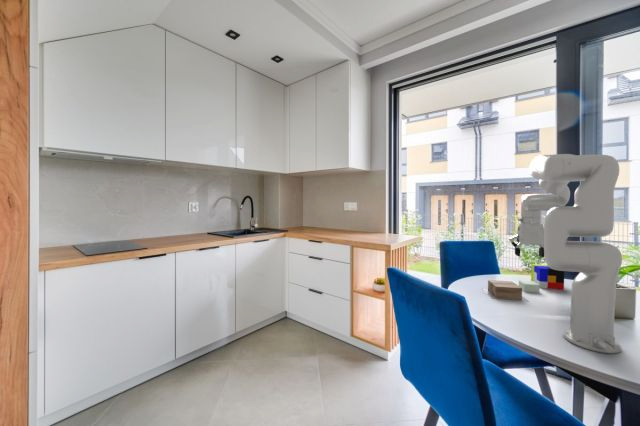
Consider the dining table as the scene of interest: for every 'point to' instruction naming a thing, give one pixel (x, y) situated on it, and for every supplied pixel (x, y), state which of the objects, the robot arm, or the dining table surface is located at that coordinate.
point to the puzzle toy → (547, 277)
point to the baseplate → (504, 298)
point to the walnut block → (504, 289)
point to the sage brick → (529, 286)
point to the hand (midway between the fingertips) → (529, 256)
